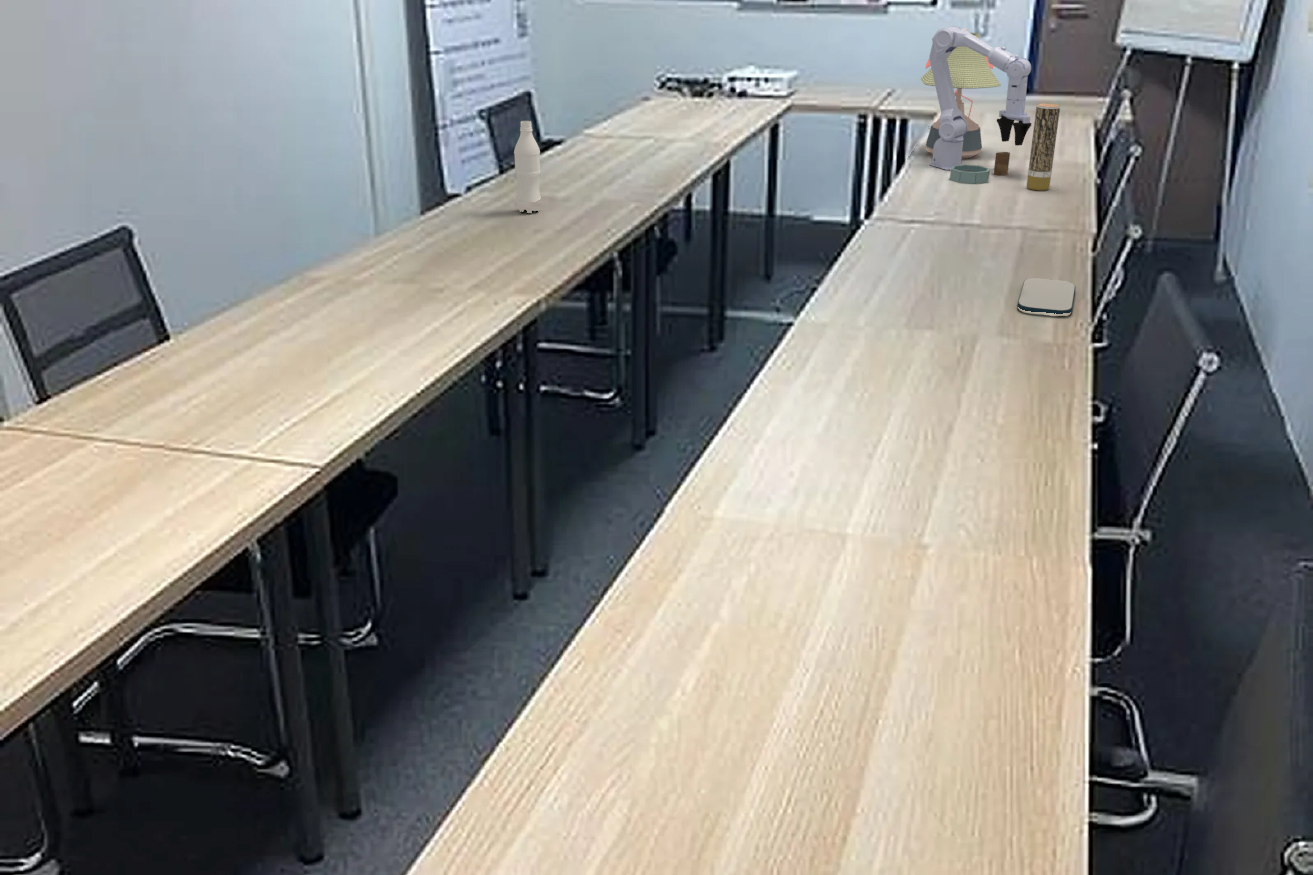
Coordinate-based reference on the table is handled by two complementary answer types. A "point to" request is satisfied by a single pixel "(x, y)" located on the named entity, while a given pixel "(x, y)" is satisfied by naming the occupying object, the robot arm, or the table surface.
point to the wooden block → (1001, 163)
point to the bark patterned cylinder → (1043, 146)
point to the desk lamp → (966, 74)
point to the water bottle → (527, 165)
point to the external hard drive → (1047, 296)
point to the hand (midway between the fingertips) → (1011, 143)
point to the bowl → (970, 174)
